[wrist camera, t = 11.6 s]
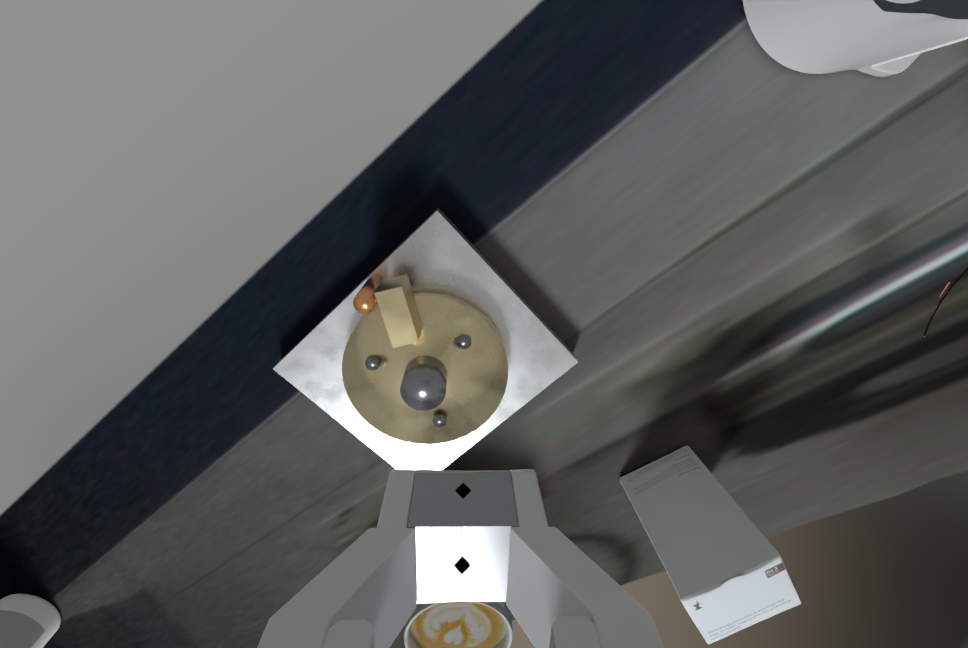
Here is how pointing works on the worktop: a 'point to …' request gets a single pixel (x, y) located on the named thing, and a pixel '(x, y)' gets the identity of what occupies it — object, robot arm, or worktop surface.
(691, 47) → the worktop surface
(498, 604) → the coffee mug
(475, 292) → the base plate
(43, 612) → the white bottle
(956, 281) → the figurine
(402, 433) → the flange plate
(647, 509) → the skincare box
